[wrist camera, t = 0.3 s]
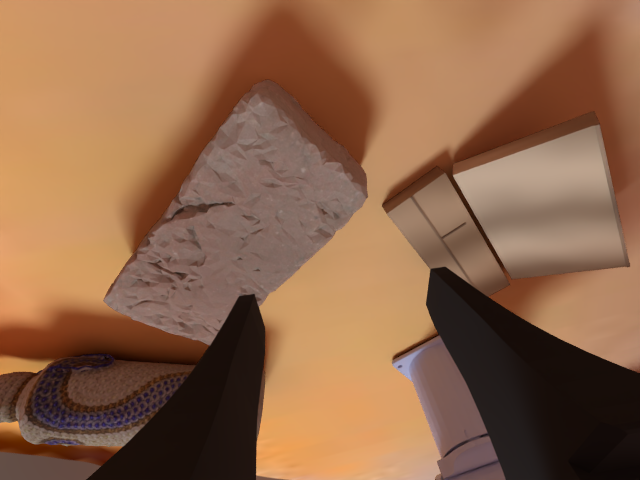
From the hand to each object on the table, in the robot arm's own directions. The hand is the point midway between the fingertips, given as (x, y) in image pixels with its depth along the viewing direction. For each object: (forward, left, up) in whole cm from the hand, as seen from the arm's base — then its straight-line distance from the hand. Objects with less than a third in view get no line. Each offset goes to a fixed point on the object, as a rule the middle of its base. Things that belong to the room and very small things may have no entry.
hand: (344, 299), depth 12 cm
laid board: (-10, -5, -10) cm, 15 cm away
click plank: (-10, -11, -8) cm, 17 cm away
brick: (+3, +5, -10) cm, 12 cm away
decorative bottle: (-2, +23, -10) cm, 26 cm away
